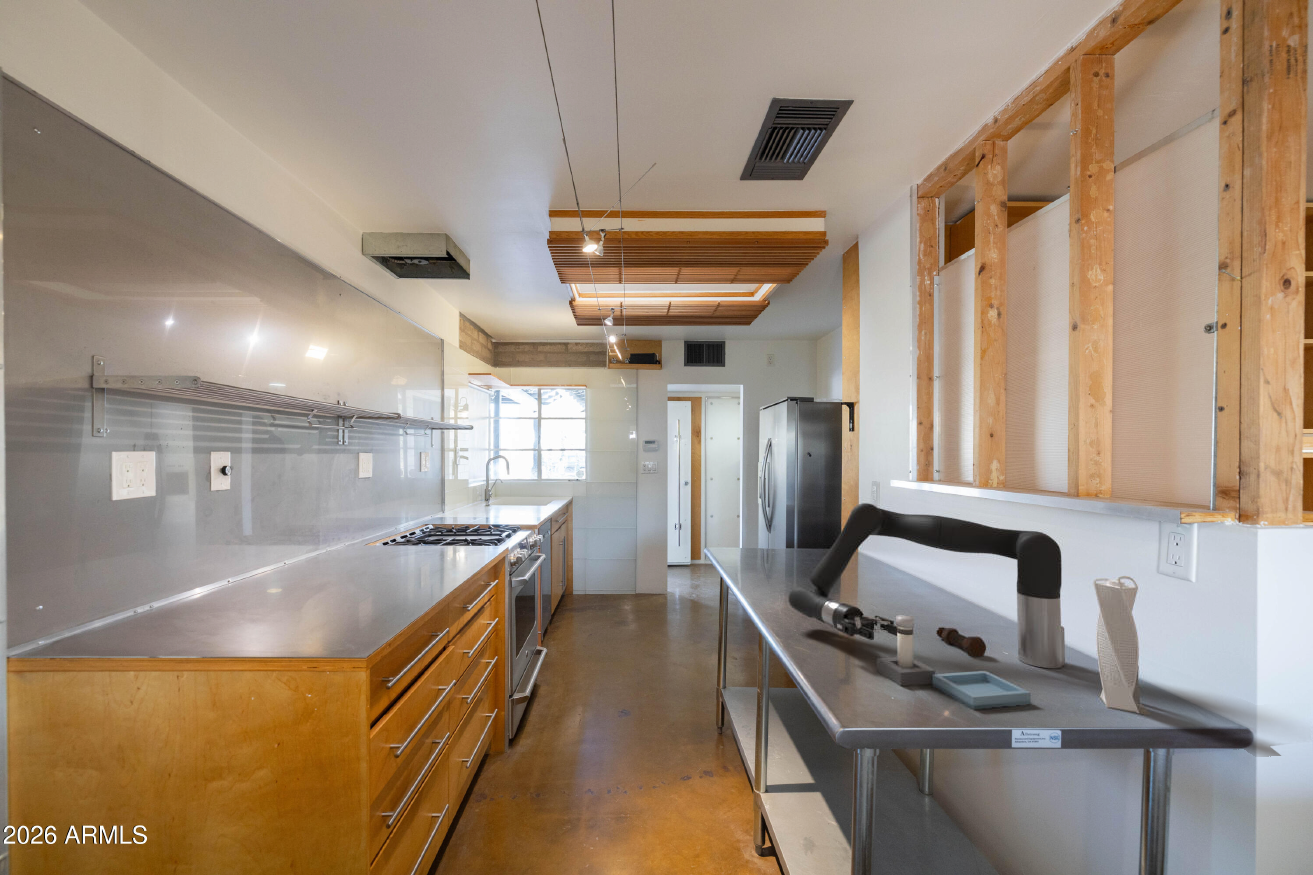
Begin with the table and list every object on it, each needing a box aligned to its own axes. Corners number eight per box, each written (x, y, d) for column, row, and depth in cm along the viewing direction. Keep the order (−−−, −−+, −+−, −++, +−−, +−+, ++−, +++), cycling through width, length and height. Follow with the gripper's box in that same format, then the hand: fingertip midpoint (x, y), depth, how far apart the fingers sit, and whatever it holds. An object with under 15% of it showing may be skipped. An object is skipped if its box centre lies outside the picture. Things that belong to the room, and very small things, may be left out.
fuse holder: (909, 668, 132) (909, 656, 132) (935, 683, 123) (935, 670, 124) (877, 670, 131) (877, 658, 131) (900, 685, 122) (900, 672, 122)
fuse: (907, 673, 129) (906, 614, 130) (917, 679, 126) (917, 619, 126) (893, 674, 129) (892, 615, 129) (903, 680, 125) (902, 619, 125)
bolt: (943, 645, 156) (980, 662, 141) (929, 636, 156) (964, 653, 141) (952, 627, 157) (989, 642, 142) (938, 618, 156) (974, 633, 142)
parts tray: (985, 681, 125) (985, 670, 125) (1030, 704, 113) (1030, 692, 113) (932, 685, 122) (932, 674, 122) (973, 709, 110) (973, 697, 111)
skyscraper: (1153, 719, 108) (1149, 579, 109) (1102, 710, 111) (1098, 575, 113) (1138, 703, 115) (1134, 572, 117) (1091, 695, 119) (1088, 568, 120)
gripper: (821, 605, 146) (863, 621, 131) (862, 600, 151) (908, 616, 136) (821, 632, 145) (864, 652, 130) (862, 627, 150) (908, 646, 135)
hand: (886, 634), depth 133 cm, fingers open, 8 cm apart
